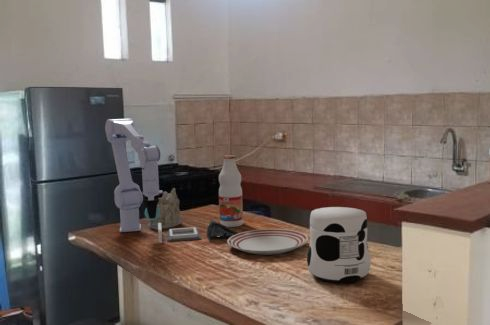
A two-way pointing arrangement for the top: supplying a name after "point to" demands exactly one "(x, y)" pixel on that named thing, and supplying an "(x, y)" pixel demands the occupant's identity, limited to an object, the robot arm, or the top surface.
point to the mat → (183, 234)
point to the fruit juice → (230, 194)
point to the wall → (159, 232)
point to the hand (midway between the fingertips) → (152, 216)
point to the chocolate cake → (219, 231)
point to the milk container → (338, 244)
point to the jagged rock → (167, 211)
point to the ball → (156, 214)
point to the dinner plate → (268, 241)
